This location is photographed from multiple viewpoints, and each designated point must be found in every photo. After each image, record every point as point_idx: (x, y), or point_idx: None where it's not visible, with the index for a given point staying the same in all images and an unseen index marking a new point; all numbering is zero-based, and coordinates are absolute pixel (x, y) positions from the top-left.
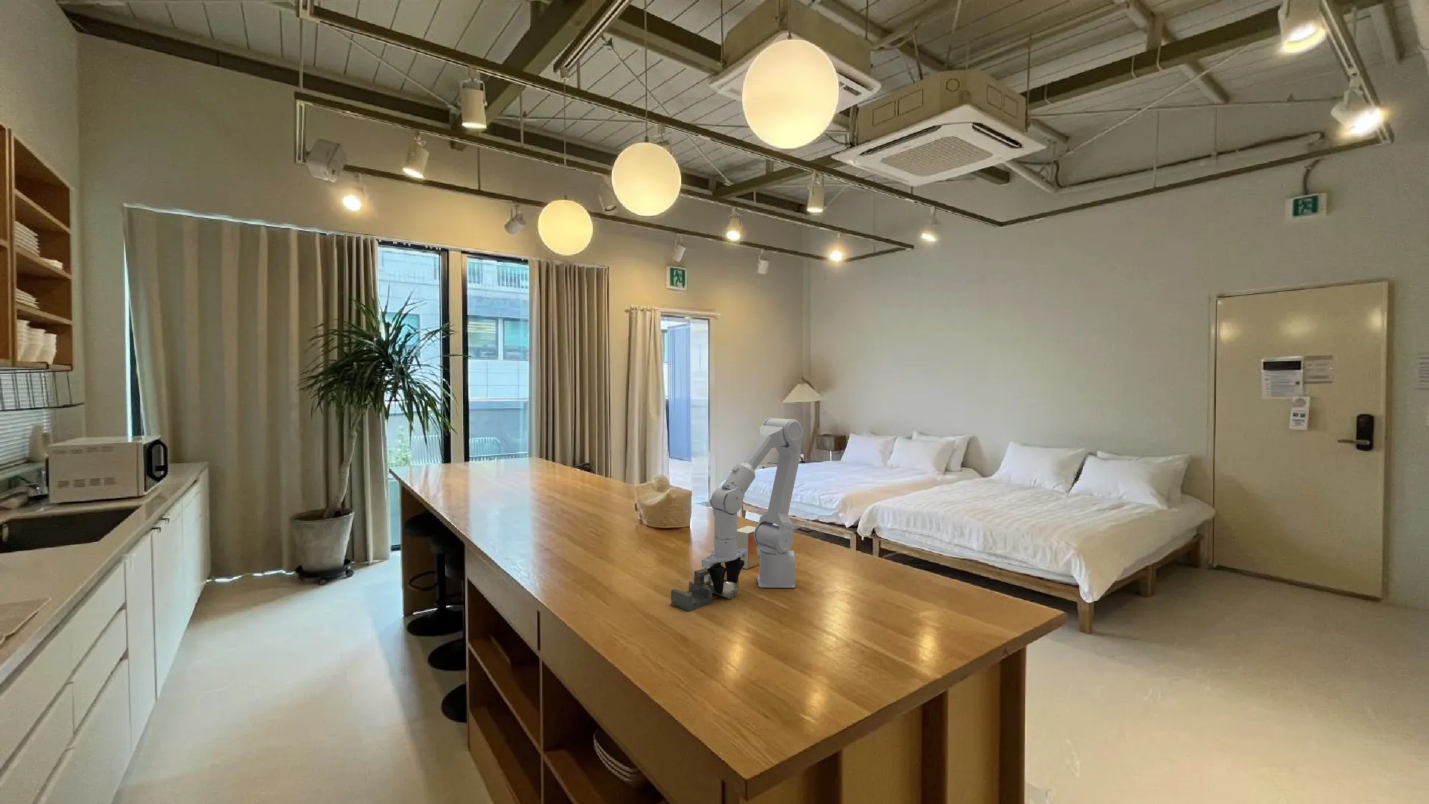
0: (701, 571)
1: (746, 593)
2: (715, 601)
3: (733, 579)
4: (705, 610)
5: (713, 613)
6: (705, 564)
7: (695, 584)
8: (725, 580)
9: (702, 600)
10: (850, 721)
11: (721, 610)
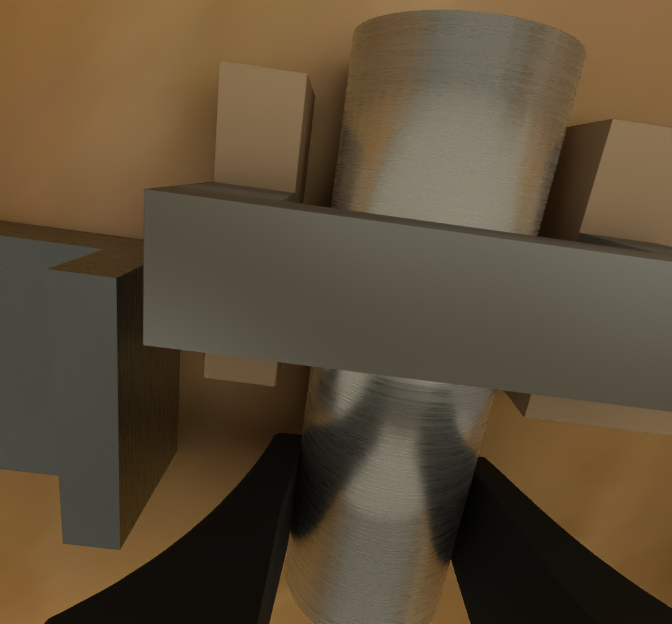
0: (233, 313)
1: None
2: (224, 452)
3: (477, 605)
4: (29, 498)
5: (38, 565)
6: None
7: (60, 335)
8: (389, 563)
9: (32, 470)
10: None
11: (122, 574)
